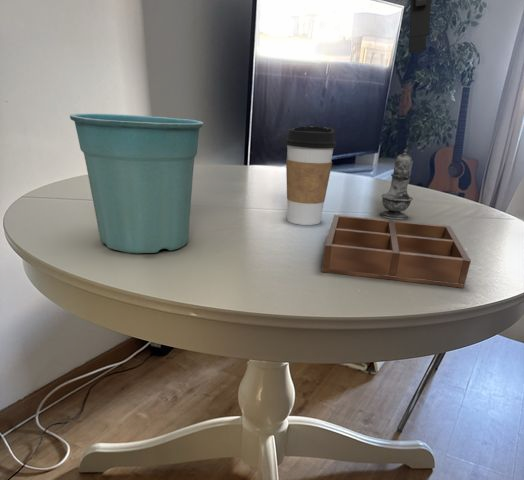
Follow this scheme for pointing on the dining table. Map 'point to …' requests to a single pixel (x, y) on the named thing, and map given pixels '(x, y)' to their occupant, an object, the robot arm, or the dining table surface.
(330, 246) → the tray
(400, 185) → the salt shaker
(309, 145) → the coffee cup
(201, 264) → the dining table surface
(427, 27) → the robot arm
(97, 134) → the flower pot
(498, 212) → the dining table surface
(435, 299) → the dining table surface
